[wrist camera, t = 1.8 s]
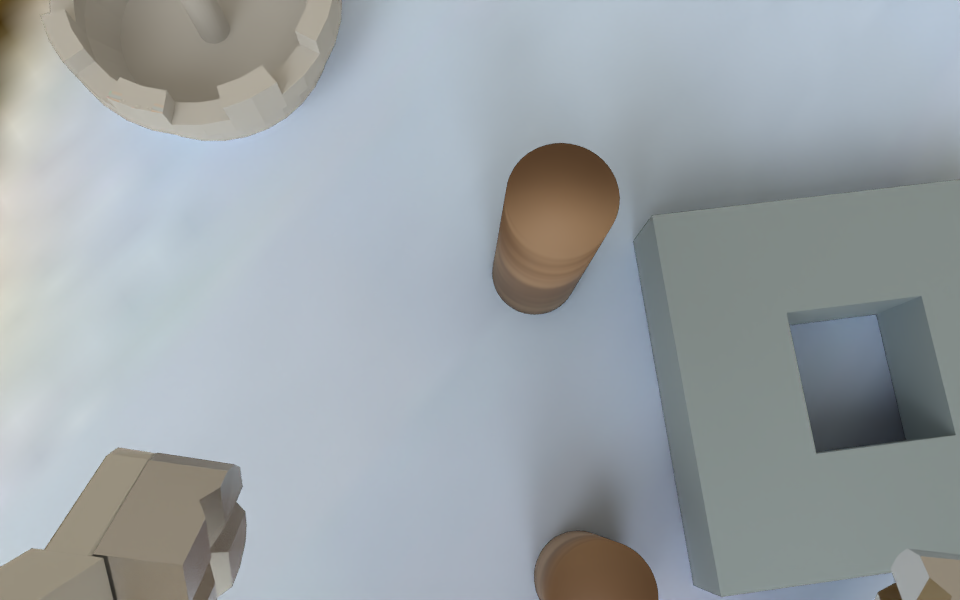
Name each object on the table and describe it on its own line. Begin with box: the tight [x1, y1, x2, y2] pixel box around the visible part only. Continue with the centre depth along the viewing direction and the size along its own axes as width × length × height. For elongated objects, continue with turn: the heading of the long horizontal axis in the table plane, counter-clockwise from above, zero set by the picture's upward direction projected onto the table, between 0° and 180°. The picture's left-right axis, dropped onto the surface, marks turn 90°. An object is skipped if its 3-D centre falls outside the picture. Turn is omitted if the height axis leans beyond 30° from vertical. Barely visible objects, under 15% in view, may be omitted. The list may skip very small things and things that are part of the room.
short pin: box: [534, 531, 658, 600], centre depth 34 cm, size 4×4×6 cm
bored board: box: [633, 179, 960, 597], centre depth 38 cm, size 16×16×4 cm
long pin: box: [492, 143, 620, 314], centre depth 35 cm, size 4×4×11 cm
